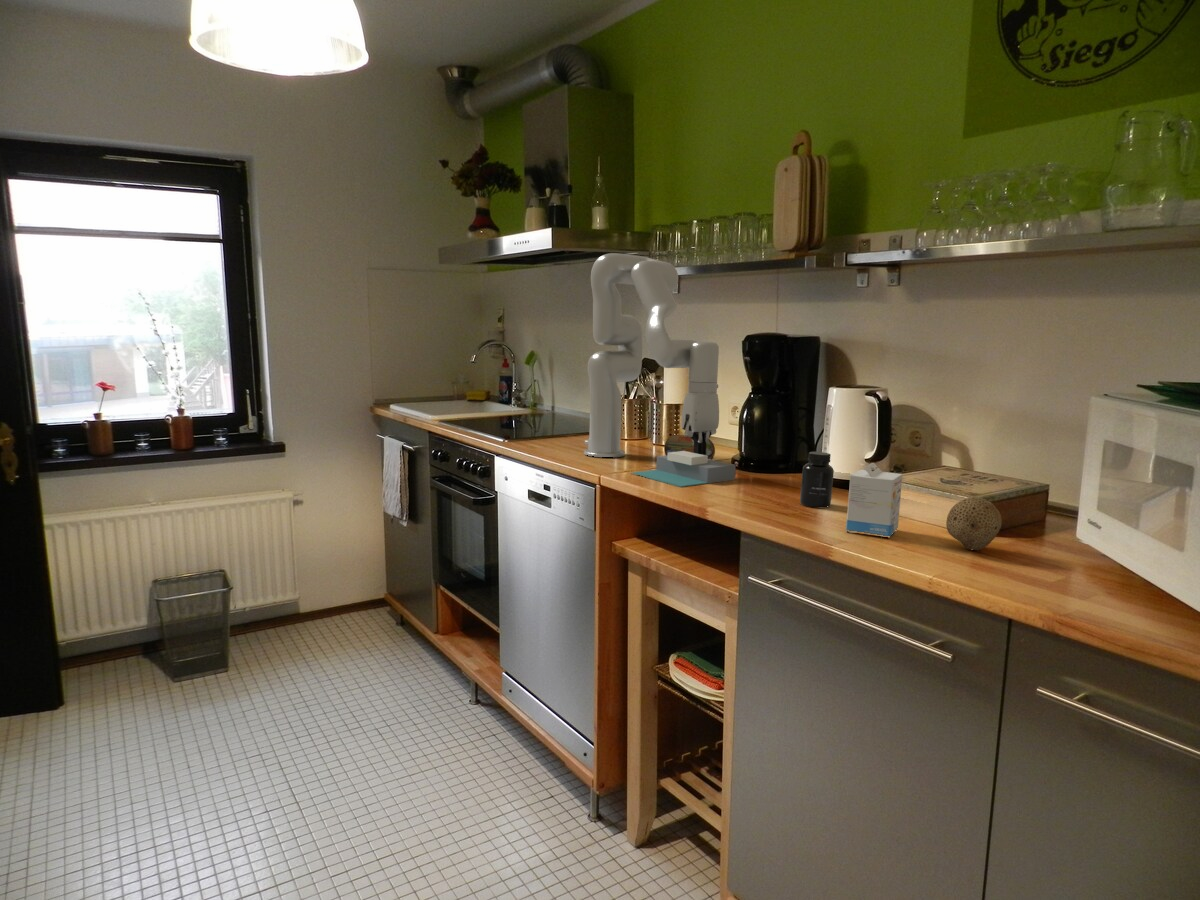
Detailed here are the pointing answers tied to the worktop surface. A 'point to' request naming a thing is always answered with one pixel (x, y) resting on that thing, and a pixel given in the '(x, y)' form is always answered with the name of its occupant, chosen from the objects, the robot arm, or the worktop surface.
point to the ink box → (874, 501)
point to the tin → (686, 445)
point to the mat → (669, 478)
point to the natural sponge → (974, 522)
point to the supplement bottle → (817, 480)
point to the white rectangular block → (687, 457)
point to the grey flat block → (698, 470)
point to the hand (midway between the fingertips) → (699, 456)
